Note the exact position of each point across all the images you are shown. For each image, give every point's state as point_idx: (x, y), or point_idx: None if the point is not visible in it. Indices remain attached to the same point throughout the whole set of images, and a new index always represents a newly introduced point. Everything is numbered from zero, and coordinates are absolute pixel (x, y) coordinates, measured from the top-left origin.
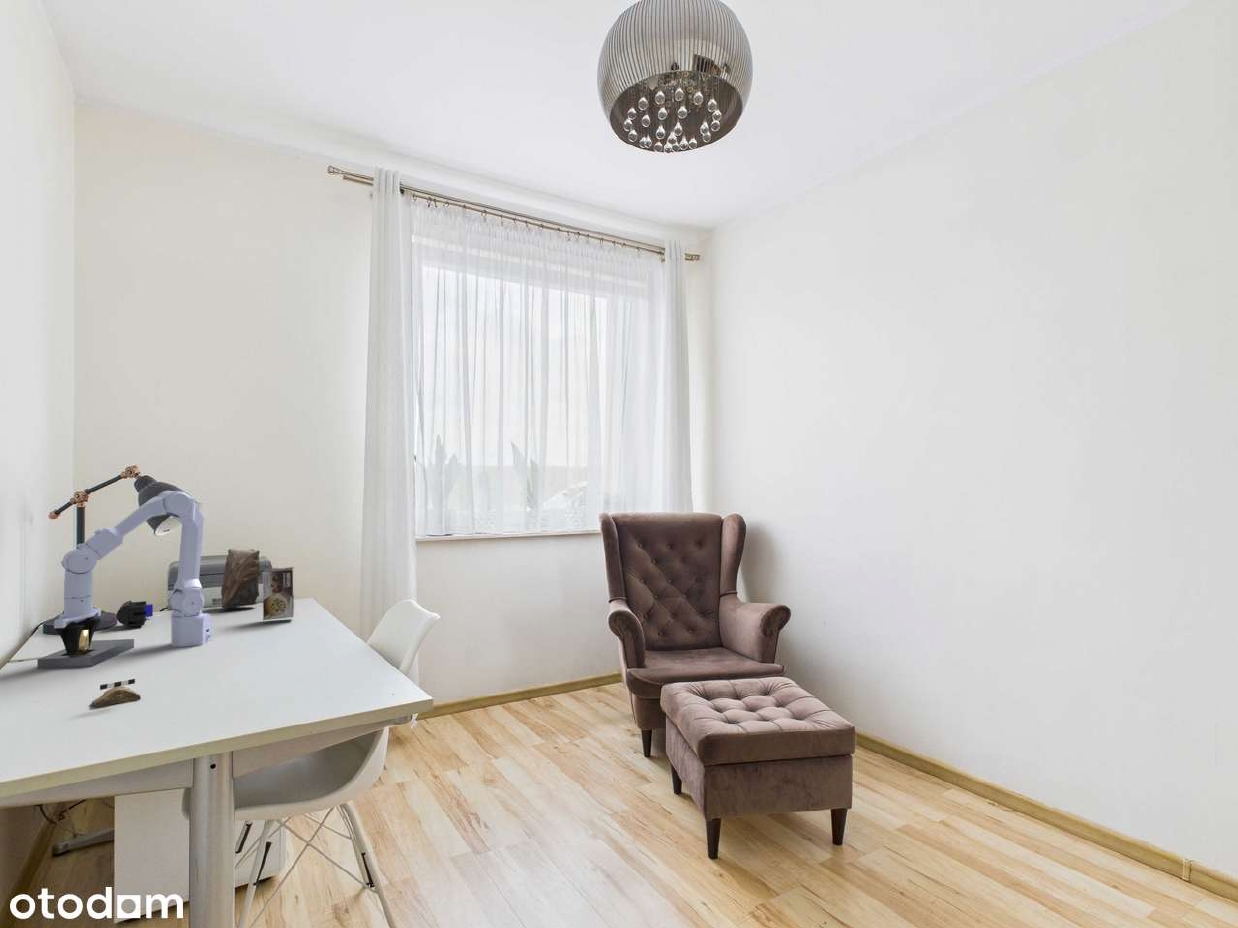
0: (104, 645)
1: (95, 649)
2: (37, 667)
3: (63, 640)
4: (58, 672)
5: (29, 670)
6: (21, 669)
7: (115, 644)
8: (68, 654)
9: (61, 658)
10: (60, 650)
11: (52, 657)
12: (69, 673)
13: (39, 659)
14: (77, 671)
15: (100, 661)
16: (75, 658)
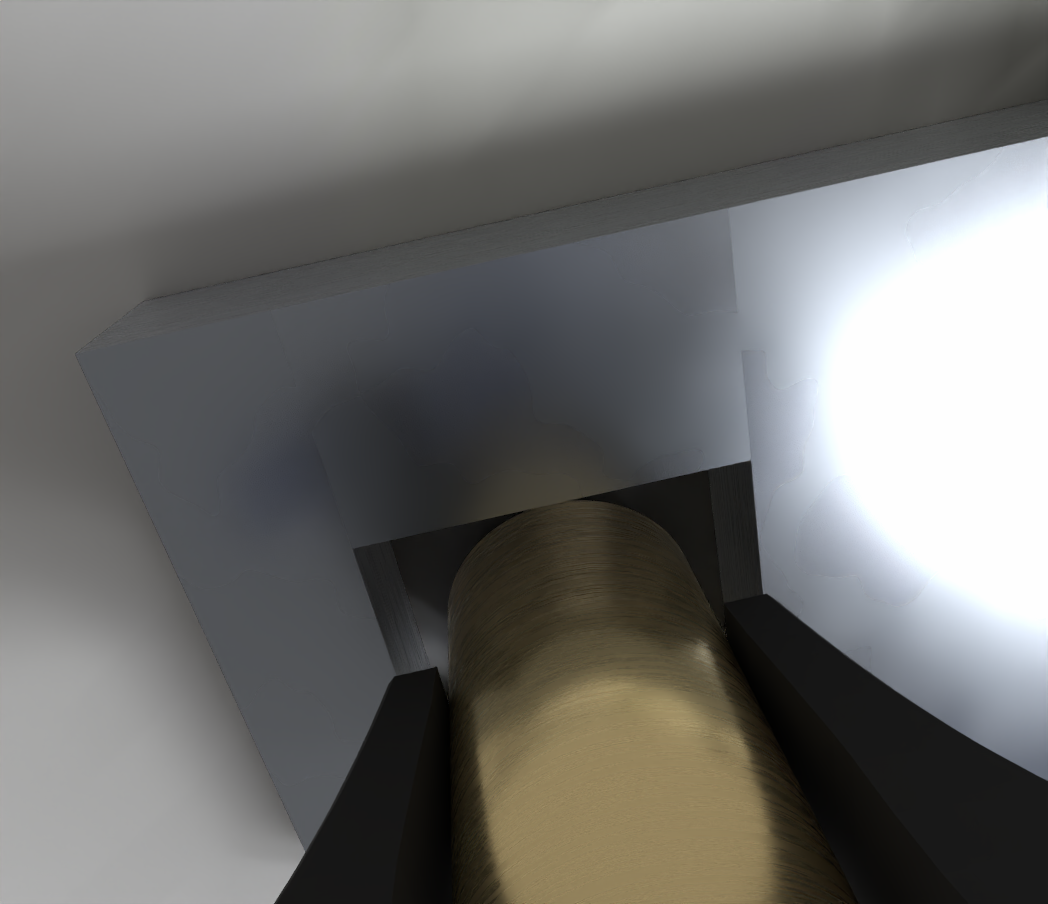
0: (1021, 677)
1: None
2: (135, 308)
3: (296, 892)
4: (87, 730)
5: (44, 237)
6: (50, 4)
7: (1045, 775)
8: (466, 610)
9: (236, 696)
10: (758, 202)
11: (246, 523)
12: (90, 866)
13: (95, 385)
14: (179, 878)
15: None
16: (308, 832)
